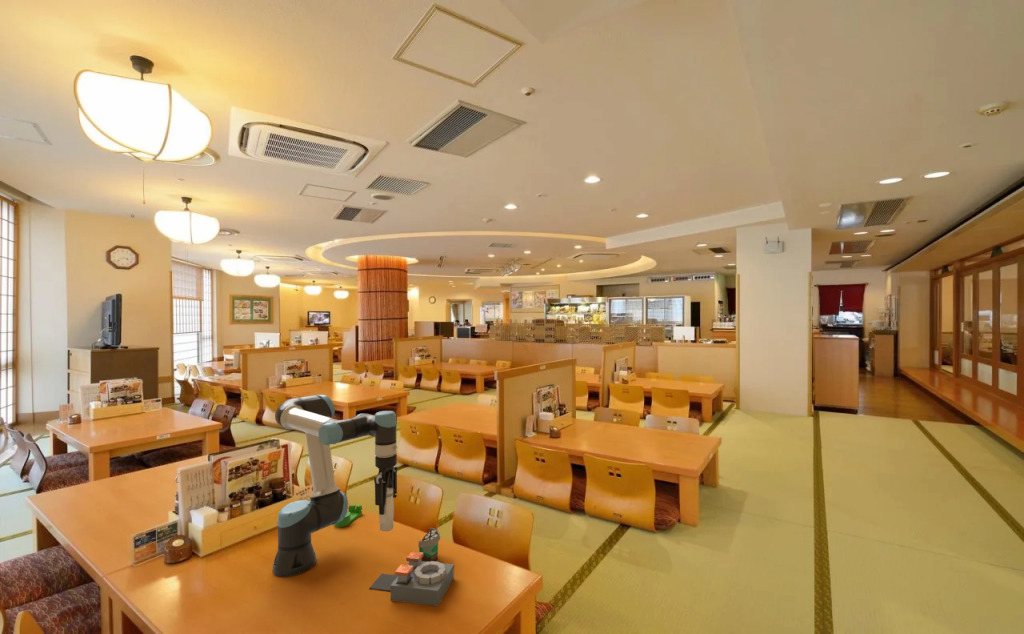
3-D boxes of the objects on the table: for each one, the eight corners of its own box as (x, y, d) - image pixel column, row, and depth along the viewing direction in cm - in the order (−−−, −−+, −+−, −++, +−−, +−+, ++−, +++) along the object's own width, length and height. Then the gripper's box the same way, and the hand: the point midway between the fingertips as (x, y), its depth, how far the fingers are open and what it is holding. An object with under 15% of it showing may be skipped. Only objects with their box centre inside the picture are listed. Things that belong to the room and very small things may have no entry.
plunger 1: (395, 591, 148) (395, 571, 148) (401, 583, 153) (401, 564, 153) (407, 593, 147) (407, 573, 147) (413, 585, 152) (413, 565, 152)
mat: (369, 589, 154) (369, 587, 154) (381, 574, 163) (381, 573, 163) (392, 591, 152) (392, 590, 152) (404, 577, 161) (404, 575, 161)
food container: (433, 569, 165) (433, 543, 166) (418, 568, 167) (418, 541, 167) (444, 552, 178) (444, 528, 178) (430, 551, 179) (430, 527, 179)
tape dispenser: (344, 528, 201) (344, 518, 201) (330, 527, 202) (330, 517, 202) (362, 514, 215) (362, 505, 216) (349, 513, 217) (349, 504, 217)
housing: (390, 600, 147) (390, 579, 147) (410, 573, 163) (410, 554, 163) (438, 606, 144) (437, 584, 144) (453, 578, 160) (453, 559, 160)
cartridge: (377, 530, 156) (377, 491, 156) (384, 525, 160) (383, 486, 161) (389, 531, 155) (389, 492, 155) (395, 525, 159) (395, 487, 160)
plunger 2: (406, 576, 157) (406, 557, 157) (412, 569, 162) (411, 551, 162) (418, 577, 156) (418, 558, 156) (423, 570, 161) (423, 552, 161)
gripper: (383, 462, 149) (384, 531, 148) (406, 448, 166) (406, 509, 165) (363, 461, 150) (364, 529, 150) (388, 447, 167) (388, 508, 167)
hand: (386, 519), depth 158 cm, fingers closed on cartridge, 4 cm apart
